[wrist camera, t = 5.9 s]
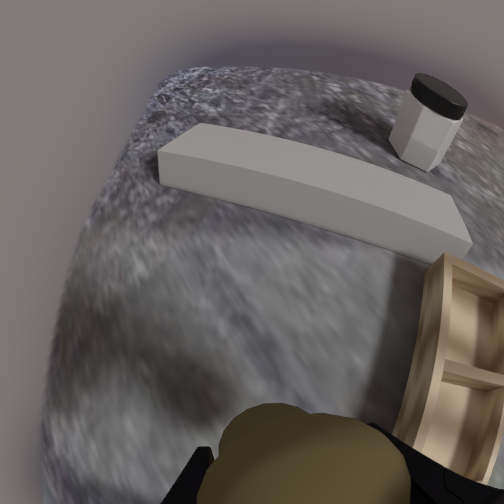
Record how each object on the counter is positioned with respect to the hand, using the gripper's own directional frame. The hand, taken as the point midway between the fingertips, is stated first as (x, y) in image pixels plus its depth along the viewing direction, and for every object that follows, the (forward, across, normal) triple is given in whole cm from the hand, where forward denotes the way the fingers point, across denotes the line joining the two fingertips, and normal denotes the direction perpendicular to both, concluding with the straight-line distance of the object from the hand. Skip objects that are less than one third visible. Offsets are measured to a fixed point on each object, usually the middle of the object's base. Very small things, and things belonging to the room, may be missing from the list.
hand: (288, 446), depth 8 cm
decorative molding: (+25, -9, -6) cm, 28 cm away
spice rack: (+6, -16, +13) cm, 21 cm away
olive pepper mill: (+4, 0, +6) cm, 7 cm away
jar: (+30, -26, -12) cm, 42 cm away
